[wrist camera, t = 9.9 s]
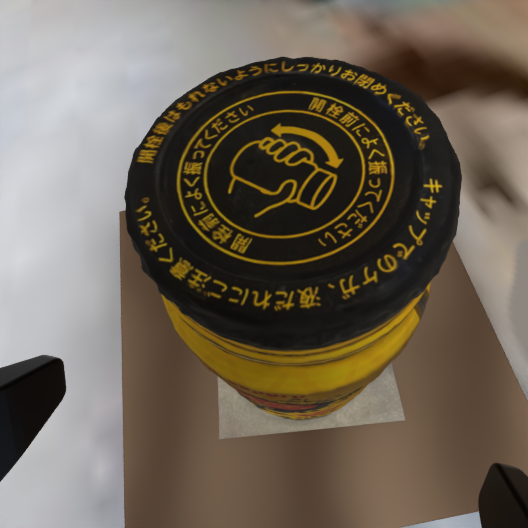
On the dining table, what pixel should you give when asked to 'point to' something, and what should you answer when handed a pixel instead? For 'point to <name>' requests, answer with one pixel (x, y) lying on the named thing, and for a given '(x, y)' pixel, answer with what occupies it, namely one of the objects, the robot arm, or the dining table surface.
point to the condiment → (296, 236)
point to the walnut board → (320, 440)
